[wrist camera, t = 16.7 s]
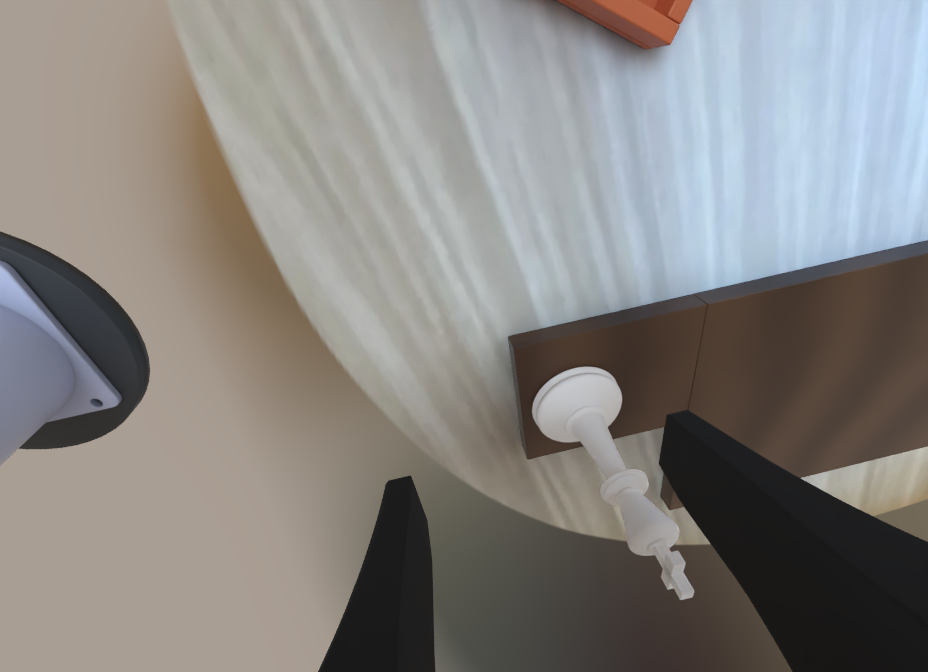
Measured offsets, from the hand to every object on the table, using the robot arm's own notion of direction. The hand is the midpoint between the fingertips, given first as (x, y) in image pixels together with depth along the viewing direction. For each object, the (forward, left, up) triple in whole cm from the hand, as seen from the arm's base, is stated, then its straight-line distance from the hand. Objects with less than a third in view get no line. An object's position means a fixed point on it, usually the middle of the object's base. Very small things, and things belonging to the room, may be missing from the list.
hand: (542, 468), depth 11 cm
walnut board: (+17, -11, -10) cm, 23 cm away
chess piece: (+4, -7, -9) cm, 12 cm away
